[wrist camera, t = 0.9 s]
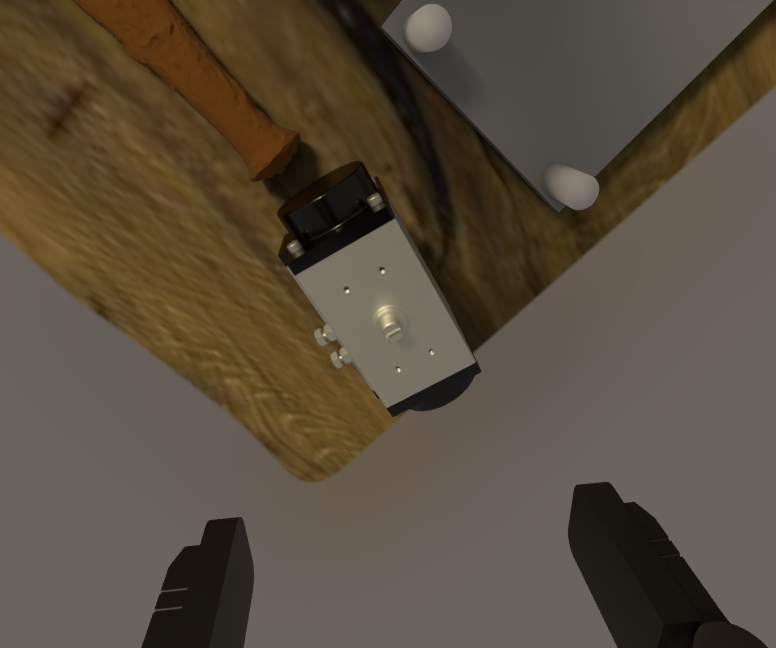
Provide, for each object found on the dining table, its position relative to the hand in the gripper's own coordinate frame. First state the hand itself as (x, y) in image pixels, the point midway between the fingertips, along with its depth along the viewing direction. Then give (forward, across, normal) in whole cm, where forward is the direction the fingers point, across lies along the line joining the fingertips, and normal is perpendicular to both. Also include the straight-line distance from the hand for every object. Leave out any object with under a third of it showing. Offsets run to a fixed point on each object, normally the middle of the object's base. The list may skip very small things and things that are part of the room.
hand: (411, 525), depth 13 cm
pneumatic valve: (+22, 0, 0) cm, 22 cm away
